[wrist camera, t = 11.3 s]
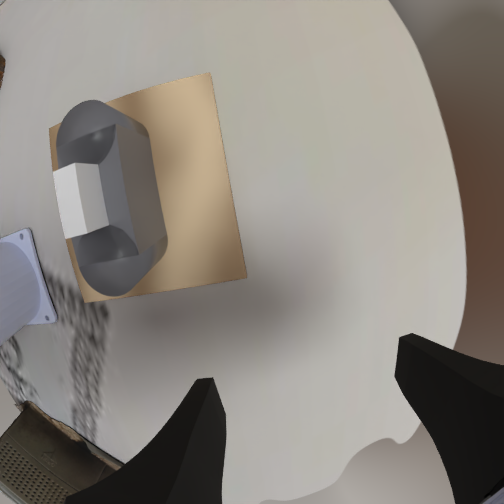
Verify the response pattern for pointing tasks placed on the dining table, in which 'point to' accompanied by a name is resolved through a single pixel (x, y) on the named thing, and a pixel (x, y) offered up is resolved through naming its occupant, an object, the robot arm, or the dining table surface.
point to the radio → (47, 459)
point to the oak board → (182, 188)
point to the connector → (109, 197)
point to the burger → (1, 68)
